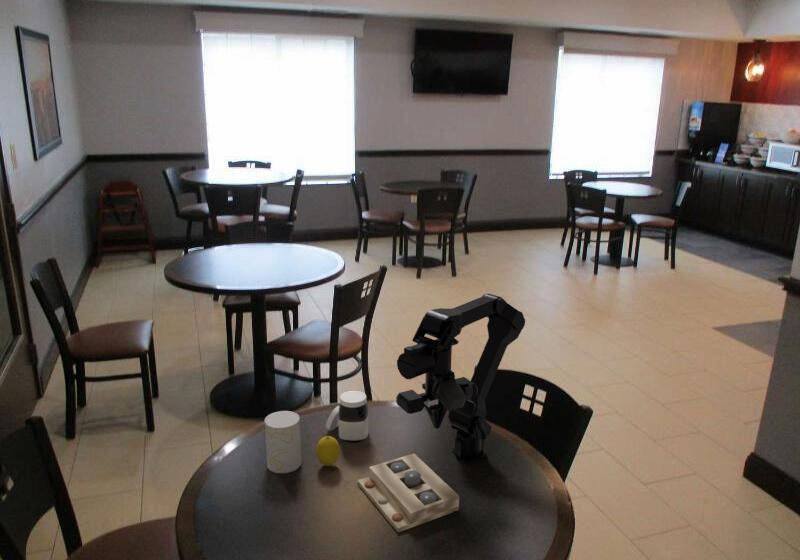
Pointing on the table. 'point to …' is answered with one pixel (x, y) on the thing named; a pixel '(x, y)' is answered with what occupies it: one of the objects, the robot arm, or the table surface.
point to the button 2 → (427, 498)
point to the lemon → (328, 450)
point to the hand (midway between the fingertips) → (436, 427)
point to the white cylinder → (283, 441)
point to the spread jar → (350, 417)
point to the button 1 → (398, 467)
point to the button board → (408, 493)
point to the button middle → (412, 479)
